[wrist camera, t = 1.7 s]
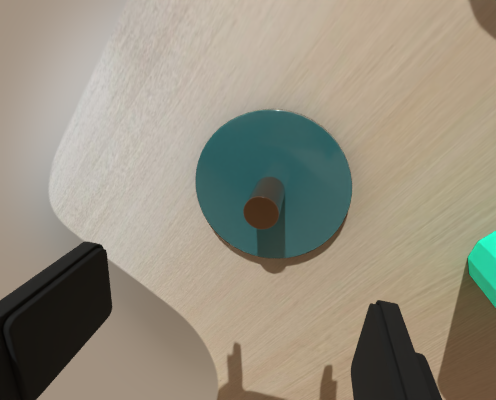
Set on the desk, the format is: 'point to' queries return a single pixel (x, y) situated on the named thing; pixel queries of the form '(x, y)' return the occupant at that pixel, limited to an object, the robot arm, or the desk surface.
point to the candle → (484, 266)
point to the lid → (273, 183)
